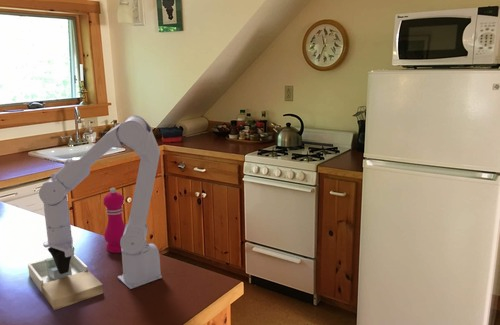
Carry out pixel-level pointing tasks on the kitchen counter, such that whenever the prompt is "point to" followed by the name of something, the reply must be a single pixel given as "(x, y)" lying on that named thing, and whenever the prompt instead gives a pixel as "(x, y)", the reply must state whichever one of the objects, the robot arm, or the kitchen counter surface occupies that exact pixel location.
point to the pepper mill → (114, 220)
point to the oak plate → (71, 289)
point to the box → (41, 276)
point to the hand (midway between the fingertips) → (63, 272)
